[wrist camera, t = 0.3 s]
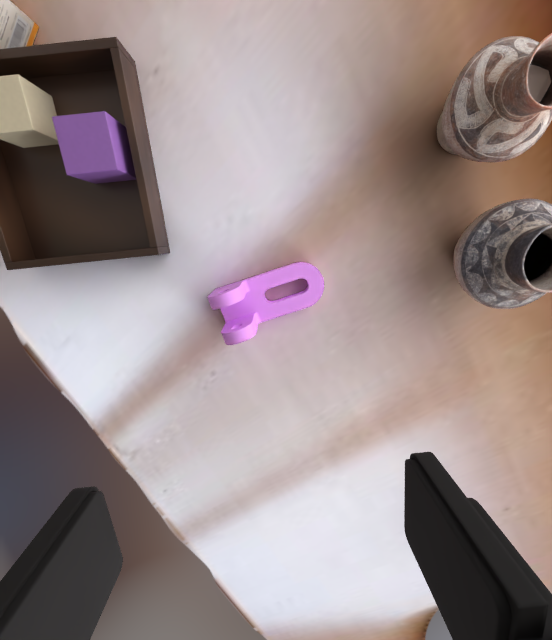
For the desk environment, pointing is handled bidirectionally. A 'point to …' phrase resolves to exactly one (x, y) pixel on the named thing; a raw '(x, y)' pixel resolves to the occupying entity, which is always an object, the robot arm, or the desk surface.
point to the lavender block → (94, 147)
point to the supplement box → (15, 27)
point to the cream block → (26, 113)
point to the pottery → (495, 146)
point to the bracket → (263, 299)
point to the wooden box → (69, 192)
